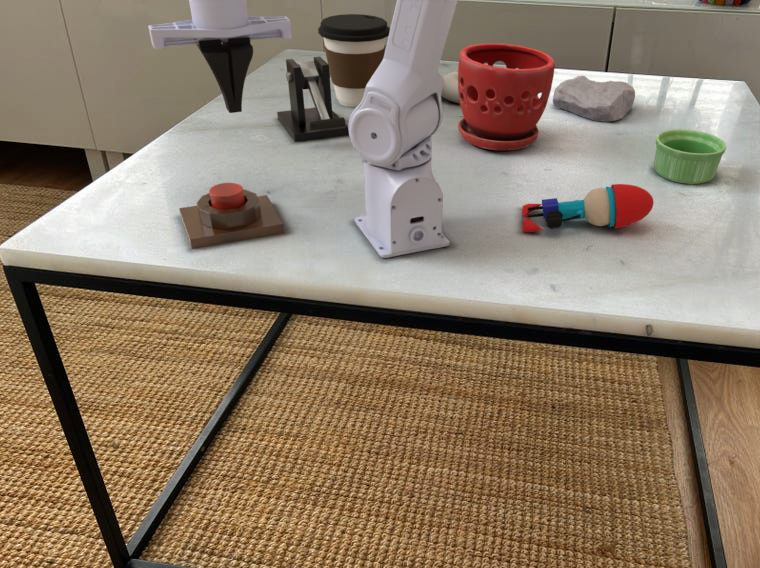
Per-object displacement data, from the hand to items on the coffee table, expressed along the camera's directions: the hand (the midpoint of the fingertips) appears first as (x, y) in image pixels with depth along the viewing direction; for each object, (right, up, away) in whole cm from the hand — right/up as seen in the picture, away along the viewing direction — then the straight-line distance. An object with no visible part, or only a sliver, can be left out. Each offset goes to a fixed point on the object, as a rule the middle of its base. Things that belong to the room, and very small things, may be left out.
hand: (234, 109), depth 82 cm
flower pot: (+32, +3, +23) cm, 39 cm away
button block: (0, -13, -1) cm, 13 cm away
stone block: (+47, +12, +35) cm, 60 cm away
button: (0, -11, -2) cm, 11 cm away
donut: (+28, +15, +38) cm, 49 cm away
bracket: (+4, +6, +24) cm, 25 cm away
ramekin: (+56, -3, +15) cm, 58 cm away
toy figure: (+40, -13, +2) cm, 42 cm away
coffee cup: (+10, +13, +34) cm, 38 cm away
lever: (+6, +8, +20) cm, 22 cm away
